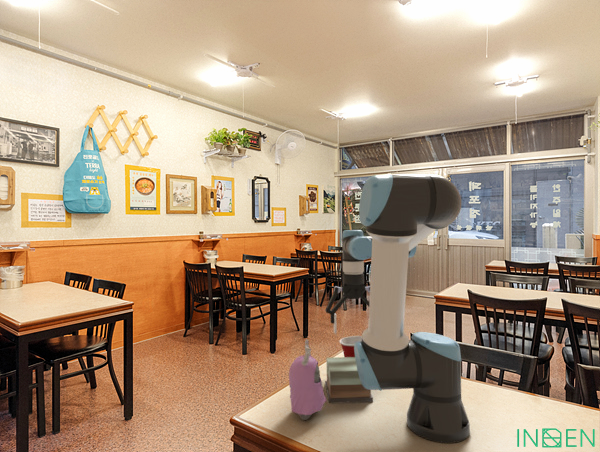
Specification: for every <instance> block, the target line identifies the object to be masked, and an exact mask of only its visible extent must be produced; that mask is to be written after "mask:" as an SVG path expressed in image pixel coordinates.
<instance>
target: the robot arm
mask: <svg viewBox="0 0 600 452" xmlns="http://www.w3.org/2000/svg"><path fill="white" fill-rule="evenodd" d="M461 196H462V195H461V194H460V192H459V190H458V188H457V187H456V185H454V184H453V182H451V180H449V179H447V178H446V177H444V176H441V175H438V174H432V173H431V174H430V173H425V174H405V173H404V174H402V173H401V174H399V173H398V174H396V173H395V174H393V173H392V174H391V173H387V174H375V175H372V176H370V177H369V178H367V180H366V181H365V183H364V185H363V187H362V191H361V193H360V198H359V208H358V212H359V215H358V216H359V217H358V219H359V222H360V224H361V225H363V226H364V227H366V229H365V232H366V233H367V235H364V232H363V230H362V229H345V230H343V231H342V235H341V236H342V237H341V241H342V242H341V243H342V272H343V274H342V286H341V287H340V286H337V285H335V286H334V287H333V292H332V294H331V297H330V299H329V301H328V304H327V305H326V307H325V309H324V310H325V313H326V314H329V315H330V324H333V334H337V333H338V332H337V331H338V330H337V329H338V328H337V327H338V326H337V325H338V324H337V313H336V312H337V311H338V310H339V309H340V308H341V306H343V304H344V302H346V300H359V299H361V300H362V301H364V302H363V303H365V304H366V306H367V307H368V308H369V310H368V328H366V329H364V331H363V332H362V334H361V336H362V342H361V341H358V342H356V343H355V345H354V352H355V360H356V365H357V370H358V374H359V378H360V381H361V383H362V385H363V387H364V388H366V389H368V390H371V391H381V392H382V391H385V390H386V391H387V390H404V389H405V390H407V389H412V390H413V391H412V393H413V394H412V396H411V399H410V403H409V406H408V409H407V412H406V426H408V429H409V430H410V431H412V433H414V434H415V435H417V436H419V437H421V438H423V439H425V440H429V441H431V442H437V443H442V444H443V443H444V444H445V443H447V444H451V443H460V442H462V441H464V440H466V439H467V438H469V436H470V432H471V429H470V425H471V424H470V421H469V417H468V413H467V411H466V409H465V407H464V404H463V400H462V356H461V347H460V345H459V343H458V342H457V341H456V340H454V339H453V338H450V337H448V336H447V335H446V336H445V335H442V334H438V333H434V332H428V331H427V332H425V331H416V332H414V333H412V336H411V339H410V338H409V336H408V335H407V334H406V333H405V332H404V330H405V314H406V300H407V297H406V296H407V282H408V269H409V268H408V267H409V259H410V258H414V256H415V255H416V253H417V249H418V247H417V246H418V245H419V244H420V243H422V242H424V241H425V240H426V239H427V238H428V237H429V236H430V235H432V234H433V233H434V232H435V231H439V230H443V229H445V228H447V227H448V226H450V225H451V224H452V223H453V222H455V221H456V219H457V218H458V216H459V214H460V213H461V209H462V198H461ZM368 259H370V260H371V262H370V263H371V264H370V282H369V283H370V285H368V286H365V274H364V273H365V267H364V266H365V260H368ZM366 291H367V293H369V300H368V298H366V296H365V295H364V293H365V292H366ZM340 292H342V293H343V294H342V295H341V297H340V298H339V300H337V303H335V301H336V299H337V297H338V294H340ZM334 303H335V305H334ZM333 305H334V306H333Z"/></svg>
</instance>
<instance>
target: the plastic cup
mask: <svg viewBox="0 0 600 452" xmlns="http://www.w3.org/2000/svg"><path fill="white" fill-rule="evenodd" d="M358 341H361V342H362V335H352V336H351V335H350V336H346V337H342V338H341V339H339V344H340V346H341V347H342V351H343V357H355V352H354V345H355V343H356V342H358Z"/></svg>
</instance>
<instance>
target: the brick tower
mask: <svg viewBox="0 0 600 452" xmlns="http://www.w3.org/2000/svg"><path fill="white" fill-rule="evenodd" d="M324 385H325V389H326V394H327V399H328V403H329V404H335V403H337V404H338V403H339V404H341V403H343V404H344V403H373V402H374V397H373V395H372V390H368V389H366V388H364V387H363V385H362V383H361V381H360V378H359V374H358V370H357V365H356V360H355V357H344V356H342V357H339V356H338V357H326V380H324Z"/></svg>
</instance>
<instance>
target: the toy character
mask: <svg viewBox="0 0 600 452" xmlns="http://www.w3.org/2000/svg"><path fill="white" fill-rule="evenodd" d="M309 342H310V340H309V339H305V341H304V351H305V353H304V354H303V355H299V356H297V357H296V358H295V359H294V360H293V362H291V364H290V367H289V371H288V381H289V382H288V383H289V388H290V389H289V392H290V396H289V398H290V405H291V409H290V410H291V412H293V413H295V414H298V417H299V418H300V419H301V420H303V421H308V419H309V418H310V417H312V414H315V413H317V412H320V411H322V408H323V406H324V404H325V403H326V402H327V398H326V396H325V394H324V389H323V388H324V387H323V381H322V378H321V371H320V367H319V361H318V360H317V359H316V358H315V357H314V356H312V355H311V351H312V348H310V346H309V345H310V344H309Z"/></svg>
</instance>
